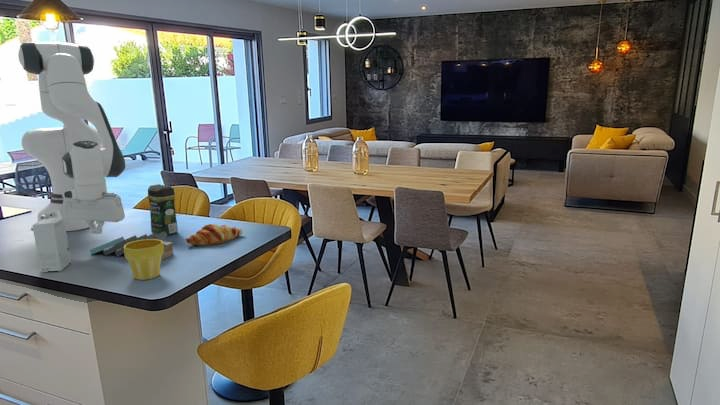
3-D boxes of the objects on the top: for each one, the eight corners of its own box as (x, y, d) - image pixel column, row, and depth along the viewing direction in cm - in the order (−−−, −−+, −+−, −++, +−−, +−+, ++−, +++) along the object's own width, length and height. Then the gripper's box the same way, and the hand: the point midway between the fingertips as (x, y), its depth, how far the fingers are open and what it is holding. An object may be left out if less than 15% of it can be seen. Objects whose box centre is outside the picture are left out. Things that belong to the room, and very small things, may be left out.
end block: (147, 261, 148) (145, 249, 147) (162, 253, 156) (161, 241, 155) (158, 262, 147) (157, 249, 146) (173, 253, 155) (172, 242, 154)
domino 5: (135, 252, 150) (155, 235, 147) (145, 247, 155) (164, 231, 152) (138, 256, 150) (158, 239, 147) (148, 251, 155) (167, 235, 152)
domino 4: (126, 253, 151) (145, 236, 148) (136, 249, 156) (155, 232, 153) (129, 257, 151) (148, 240, 148) (139, 252, 156) (158, 236, 153)
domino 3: (114, 252, 152) (136, 238, 149) (125, 247, 156) (146, 234, 154) (117, 256, 152) (139, 242, 149) (128, 252, 157) (148, 238, 154)
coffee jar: (147, 233, 178) (143, 185, 174) (166, 228, 184) (162, 182, 180) (162, 237, 172) (157, 188, 168) (181, 232, 179) (177, 185, 175)
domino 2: (102, 251, 153) (125, 239, 150) (113, 246, 157) (135, 235, 154) (105, 255, 153) (127, 244, 150) (116, 251, 157) (138, 239, 155)
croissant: (238, 242, 179) (233, 223, 180) (250, 235, 171) (244, 215, 173) (184, 253, 164) (178, 232, 166) (194, 246, 157) (188, 224, 158)
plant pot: (135, 269, 141) (132, 238, 139) (171, 269, 141) (168, 238, 139) (120, 283, 131) (116, 249, 129) (158, 282, 131) (155, 249, 129)
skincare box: (61, 271, 139) (54, 223, 136) (38, 273, 137) (31, 224, 134) (71, 262, 147) (65, 216, 144) (50, 263, 145) (43, 217, 142)
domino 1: (89, 250, 154) (112, 240, 151) (100, 245, 158) (123, 236, 156) (91, 254, 154) (114, 245, 151) (102, 249, 159) (125, 240, 156)
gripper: (126, 191, 152) (131, 232, 155) (72, 188, 156) (78, 228, 159) (112, 195, 146) (117, 237, 149) (57, 192, 150) (63, 234, 153)
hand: (96, 233), depth 154 cm, fingers closed
